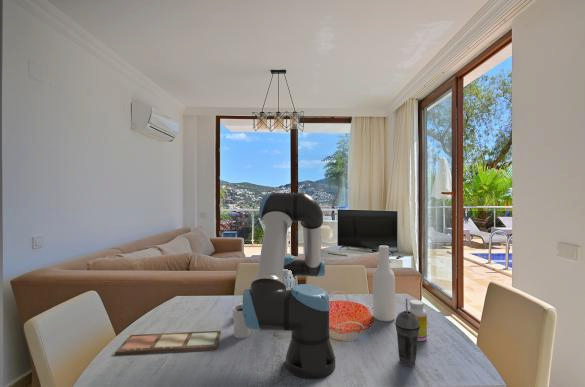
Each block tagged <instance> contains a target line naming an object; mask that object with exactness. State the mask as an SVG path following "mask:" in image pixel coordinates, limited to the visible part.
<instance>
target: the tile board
mask: <svg viewBox="0 0 585 387" xmlns="http://www.w3.org/2000/svg"><path fill="white" fill-rule="evenodd" d="M221 333H222V330H207V331H202V330H201V331H186V332H168V333H167V332H166V333H165V332H164V333H163V332H161V333H145V334H144V333H142V334H141V333H139V334H130V335H129V337H128V338H126V340H125V341H124V342H122V344H121V345H120V346H119V348H118V349H117V350H116V351H115V356H123V355H124V356H126V355H141V354H142V355H143V354H144V355H145V354H162V353H177V352H178V353H180V352H195V351H196V352H197V351H198V352H199V351H201V352H202V351H215V350H217V348H218V344H219V341H220V337H221Z"/></svg>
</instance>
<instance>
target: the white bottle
mask: <svg viewBox="0 0 585 387" xmlns="http://www.w3.org/2000/svg"><path fill="white" fill-rule="evenodd" d="M389 248H390V246H388V245H386V244H385V245H383V244H382V245H379V246H378V260H377V261H378V262H377V268H375V270H374V271H373V274H372V316H373V317H374V318H375V320H376V321H380V322H385V323H386V322H389V323H390V322H392V321H393V320H395V319H396V276H395V273H394V271H393V270H392V269H391V266H390V254H389V250H390V249H389Z"/></svg>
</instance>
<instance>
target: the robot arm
mask: <svg viewBox="0 0 585 387" xmlns="http://www.w3.org/2000/svg"><path fill="white" fill-rule="evenodd" d="M258 210H259V211H258V216H259V220H260V221H261V222H262V224H263V226H264V231H263V238H262V244H261V249H260V250H261V251H260V257H259V262H258V263H259V264H258V269H257V274H256V278H255V279H254V280H252V282H251V284H250V288H247V289H244V291H243V294H242V301H241V302H240V303H238V305H242V304H243V318H244V322H245V325H246V326H247V327H248V328H249V329H250V330H259V331H285V332H286V331H288V332H289V331H290V333H291V336H290V341H289V345H288V349H287V351H286V354H285V367H286V369H287V370H288V371H289V373H291V374H293V375H294V376H296V377H299V378H304V379H309V380H310V379H320V378H324V377H326V376H329V375H331V374H332V373H333V372H334V371H335V369H336V356H335V352H334V349H333V347H332V343H331V339H330V310H331V306H330V297H329V296H330V295H329V293H328V292H327V291H326V290H325V289H323V288H322V287H320V286H317V285H314V284H307V283H300V284H298V282H297V280H296V278H295V277H316V278H317V277H324V276H325V274H326V267H325V266H326V263H325V260H322V248H321V247H322V241H321V240H322V234H321V233H322V232H321V231H322V230H321V229H322V227H323V226H322V225H323V223H324V215H323V211H322V209H321V206H320V204H319V203H318V202H317V201H316V200H315V198H313V197H312V196H311V195H309V194H307V193H304V192H275V191H274V192H268V193H267V192H266V193H264V194H263V195H262V196H261V199H260V203H259V209H258ZM297 222H299V224H300V226H301V227H302V232H303V234H302V235H303V252H304V253H303V254H304V259H295V258H296V257H295V256H294V255H292V254H291V255H290V254H286V247H287V246H286V245H287V238H288V237H287V236H288V235H287V234H288V229H290V228H291V226H292V224H293V223H297ZM283 269H288V270H291V271H292V274H293V277H294V279H295V281H296V284H297V285H294V286H293V287H292V288H291V290H286V285H285V284H284V283H283V282H282V280H283Z"/></svg>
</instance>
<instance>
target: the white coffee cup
mask: <svg viewBox="0 0 585 387" xmlns="http://www.w3.org/2000/svg"><path fill="white" fill-rule="evenodd" d="M232 313H233V314H232V315H233V316H232V317H233V318H232V319H233V336H234V337H235V338H237V339H245V338H248V337H249V336H250V335H251V329H249V328H248V327H247V326H246V325H245V322H244V318H243V304H242V305H235V306H233V307H232Z"/></svg>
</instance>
